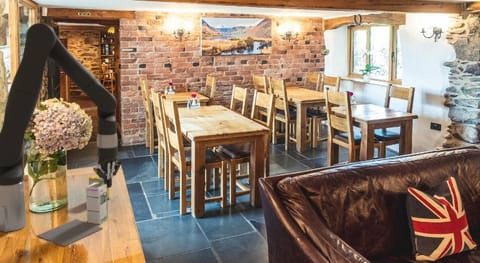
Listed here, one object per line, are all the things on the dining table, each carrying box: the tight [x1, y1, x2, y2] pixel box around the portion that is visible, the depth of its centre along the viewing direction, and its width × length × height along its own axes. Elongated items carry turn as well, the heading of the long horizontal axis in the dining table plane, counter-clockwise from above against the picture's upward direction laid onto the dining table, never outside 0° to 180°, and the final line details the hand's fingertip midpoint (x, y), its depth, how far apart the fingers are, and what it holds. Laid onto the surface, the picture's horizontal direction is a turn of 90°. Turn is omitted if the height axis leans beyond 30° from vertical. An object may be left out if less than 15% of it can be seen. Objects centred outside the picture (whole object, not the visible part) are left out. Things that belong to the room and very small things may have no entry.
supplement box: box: [88, 174, 110, 201], centre depth 182 cm, size 6×6×11 cm
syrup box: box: [85, 183, 109, 225], centre depth 162 cm, size 6×6×14 cm
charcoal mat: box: [36, 218, 103, 248], centre depth 153 cm, size 17×14×1 cm
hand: (107, 187), depth 166 cm, fingers closed
